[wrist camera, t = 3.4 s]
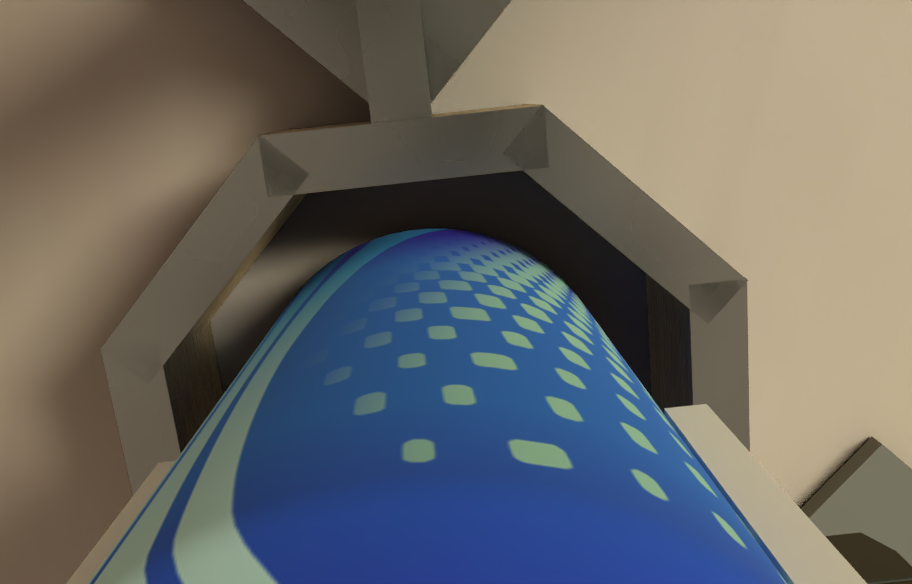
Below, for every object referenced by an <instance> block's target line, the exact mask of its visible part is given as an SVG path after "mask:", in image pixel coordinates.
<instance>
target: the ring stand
mask: <svg viewBox="0 0 912 584" xmlns="http://www.w3.org/2000/svg"><path fill="white" fill-rule="evenodd" d="M243 1H244V2H245V3H246V4H248V5H249V6H250V7H251V8H253V9H254V10H255V11H256V12H257V13H259V14H260V15H261V16H262V17H264V18H265V19H266V20H267V21H269V22H270V23H271V24H272V25H273V26H275V27H276V28H277V29H278V30H280V31H281V32H282V33H283V34H284V35H286V36H287V37H288V38H289V39H291V40H292V41H293V42H294V43H296V44H297V45H298V46H299V47H300V48H302V49H303V50H304V51H305V52H307V53H308V54H309V55H310V56H311V57H313V58H314V59H315V60H316V61H318V62H319V63H320V64H321V65H322V66H324V67H325V68H326V69H327V70H329V71H330V72H331V73H332V74H334V75H335V76H336V77H337V78H338V79H340V80H341V81H342V82H343V83H345V84H346V85H347V86H348V87H349V88H351V89H352V90H353V91H354V92H356V93H357V94H358V95H359V96H360V97H362V98H363V99H364V100H365V101H367V102H368V103H369V110H370V118H371V121H367V122H357V123H348V124H339V125H329V126H320V127H311V128H301V129H288V130H282V131H277V132H272V133H267V134H262V135H259V136H258V138H257V139H256V140H255V142H254V143H253V144H252V146H251V147H250V148H249V150H248V151H247V153H246V154H245V155H244V157H243V158H242V159H241V161H240V162H239V163H238V165H237V166H236V167H235V169H234V170H233V171H232V173H231V174H230V175H229V177H228V178H227V179H226V181H225V182H224V183H223V185H222V186H221V187H220V189H219V190H218V192H217V193H216V194H215V196H214V197H213V198H212V200H211V201H210V202H209V204H208V205H207V206H206V208H205V209H204V210H203V212H202V213H201V214H200V216H199V217H198V218H197V220H196V221H195V222H194V224H193V225H192V226H191V228H190V229H189V231H188V232H187V233H186V235H185V236H184V237H183V239H182V240H181V241H180V243H179V244H178V245H177V247H176V248H175V249H174V251H173V252H172V253H171V255H170V256H169V257H168V259H167V260H166V261H165V263H164V264H163V266H162V267H161V268H160V270H159V271H158V272H157V274H156V275H155V276H154V278H153V279H152V280H151V282H150V283H149V284H148V286H147V287H146V288H145V290H144V291H143V292H142V294H141V295H140V296H139V298H138V299H137V300H136V302H135V303H134V305H133V306H132V307H131V309H130V310H129V311H128V313H127V314H126V315H125V317H124V318H123V319H122V321H121V322H120V323H119V325H118V326H117V327H116V329H115V330H114V331H113V333H112V334H111V335H110V337H109V338H108V339H107V341H106V342H105V344H104V345H103V346H102V347H101V348H100V351H101V355H102V359H103V364H104V368H105V373H106V377H107V382H108V386H109V391H110V395H111V400H112V404H113V409H114V413H115V418H116V422H117V427H118V431H119V436H120V440H121V445H122V449H123V454H124V458H125V463H126V467H127V472H128V476H129V481H130V485H131V490H132V494H133V495H134V494H135V493H136V491H137V490H138V489H139V487H140V486H141V485H142V483H143V482H144V481H145V480H146V478H147V477H148V476H149V474H150V473H151V472H152V470H153V469H154V468H155V466H156V465H157V464H158V463H160V462H170V461H176V460H177V458H178V457H179V456H180V454H181V453H182V451H183V450H184V449H185V447H186V446H187V444H188V443H189V442H190V440H191V439H192V437H193V436H194V435H195V433H196V432H197V431H198V429H199V428H200V426H201V425H202V424H203V422H204V421H205V419H206V418H207V417H208V415H209V414H210V412H211V411H212V410H213V408H214V407H215V406H216V404H217V403H218V401H219V400H220V399H221V397H222V396H223V389H222V384H221V378H220V373H219V368H218V362H217V357H216V351H215V346H214V341H213V335H212V330H211V324H210V319H211V318H212V317H213V315H214V314H215V313H216V311H217V310H218V309H219V307H220V306H221V305H222V304H223V302H224V301H225V300H226V298H227V297H228V296H229V294H230V293H231V292H232V290H233V289H234V288H235V287H236V285H237V284H238V283H239V281H240V280H241V279H242V277H243V276H244V275H245V274H246V272H247V271H248V270H249V268H250V267H251V266H252V264H253V263H254V262H255V261H256V259H257V258H258V257H259V255H260V254H261V253H262V251H263V250H264V249H265V248H266V246H267V245H268V244H269V242H270V241H271V240H272V238H273V237H274V236H275V235H276V233H277V232H278V231H279V229H280V228H281V227H282V225H283V224H284V223H285V221H286V220H287V219H288V218H289V216H290V215H291V214H292V212H293V211H294V210H295V208H296V207H297V206H298V205H299V203H300V202H301V201H302V199H303V198H304V197H305V195H306V194H307V193H314V192H324V191H333V190H342V189H352V188H361V187H370V186H380V185H389V184H398V183H408V182H417V181H426V180H436V179H445V178H455V177H464V176H473V175H483V174H492V173H501V172H511V171H520V170H522V171H523V172H525V173H526V174H527V175H528V176H529V177H531V178H532V179H533V180H534V181H535V182H537V183H538V184H539V185H540V186H541V187H543V188H544V189H545V190H546V191H547V192H549V193H550V194H551V195H552V196H553V197H555V198H556V199H557V200H558V201H559V202H561V203H562V204H563V205H564V206H565V207H567V208H568V209H569V210H570V211H571V212H573V213H574V214H575V215H576V216H577V217H579V218H580V219H581V220H582V221H583V222H585V223H586V224H587V225H588V226H589V227H591V228H592V229H593V230H594V231H595V232H597V233H598V234H599V235H600V236H601V237H603V238H604V239H605V240H606V241H607V242H609V243H610V244H611V245H612V246H614V247H615V248H616V249H617V250H618V251H620V252H621V253H622V254H623V255H624V256H626V257H627V258H628V259H629V260H630V261H632V262H633V263H634V264H635V265H636V266H638V267H639V268H640V269H641V270H642V271H644V272H645V273H646V287H647V308H648V329H649V350H650V371H651V392H652V399H653V400H654V401H655V403H656V404H657V405H658V407H659V408H660V409H661V411H662V412H663V414H664V408H673V407H682V406H692V405H701V404H707V405H708V406H709V407H710V408H711V409H712V411H713V412H714V413H715V414H716V415H717V416H718V417H719V418H720V419H721V421H722V422H723V423H724V424H725V425H726V426H727V427H728V428H729V430H730V431H731V432H732V433H733V434H734V435H735V436H736V437H737V438H738V440H739V441H740V442H741V443H742V444H743V445H744V446H745V447H746V449H747V450H748V451H749V452H750V440H749V378H748V316H747V281H748V280H747V278H745V277H743V276H742V275H741V274H739V273H738V272H737V271H736V270H735V269H734V268H732V267H731V266H730V265H729V264H728V263H727V262H725V261H724V260H723V259H722V258H721V257H720V256H718V255H717V254H716V253H715V252H714V251H713V250H711V249H710V248H709V247H708V246H707V245H706V244H704V243H703V242H702V241H701V240H700V239H699V238H697V237H696V236H695V235H694V234H693V233H692V232H690V231H689V230H688V229H687V228H686V227H685V226H683V225H682V224H681V223H680V222H679V221H677V220H676V219H675V218H674V217H673V216H672V215H670V214H669V213H668V212H667V211H666V210H665V209H663V208H662V207H661V206H660V205H659V204H658V203H656V202H655V201H654V200H653V199H652V198H651V197H649V196H648V195H647V194H646V193H645V192H644V191H642V190H641V189H640V188H639V187H638V186H637V185H635V184H634V183H633V182H632V181H631V180H630V179H628V178H627V177H626V176H625V175H624V174H623V173H621V172H620V171H619V170H618V169H617V168H616V167H614V166H613V165H612V164H611V163H610V162H608V161H607V160H606V159H605V158H604V157H603V156H601V155H600V154H599V153H598V152H597V151H596V150H594V149H593V148H592V147H591V146H590V145H589V144H587V143H586V142H585V141H584V140H583V139H582V138H580V137H579V136H578V135H577V134H576V133H575V132H573V131H572V130H571V129H570V128H569V127H568V126H566V125H565V124H564V123H563V122H562V121H561V120H559V119H558V118H557V117H556V116H555V115H554V114H552V113H551V112H550V111H549V110H548V109H547V108H545V107H544V105H536V104H522V105H516V106H507V107H498V108H488V109H479V110H470V111H460V112H451V113H442V114H432V111H431V102H432V101H433V100H434V99H435V97H436V96H437V95H438V93H439V92H440V91H441V90H442V88H443V87H444V86H445V85H446V83H447V82H448V81H449V79H450V78H451V77H452V76H453V74H454V73H455V72H456V70H457V69H458V68H459V67H460V65H461V64H462V63H463V62H464V60H465V59H466V58H467V56H468V55H469V54H470V53H471V51H472V50H473V49H474V47H475V46H476V45H477V44H478V42H479V41H480V40H481V39H482V37H483V36H484V35H485V33H486V32H487V31H488V30H489V28H490V27H491V26H492V24H493V23H494V22H495V21H496V19H497V18H498V17H499V16H500V14H501V13H502V12H503V10H504V9H505V8H506V7H507V5H508V4H509V3H510V1H511V0H243Z"/></svg>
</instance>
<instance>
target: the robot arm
mask: <svg viewBox="0 0 912 584" xmlns="http://www.w3.org/2000/svg"><path fill="white" fill-rule="evenodd" d="M664 415H665V416H666V418H667V419H668V420H669V422H670V423H671V425H672V426H673V427H674V429H675V430H676V431H677V433H678V434H679V436H680V437H681V438H682V440H683V441H684V442H685V444H686V445H687V447H688V448H689V449H690V451H691V452H692V453H693V455H694V456H695V457H696V459H697V460H698V462H699V463H700V464H701V466H702V467H703V468H704V470H705V471H706V473H707V474H708V475H709V477H710V478H711V479H712V481H713V482H714V484H715V485H716V486H717V488H718V489H719V490H720V492H721V493H722V495H723V496H724V497H725V499H726V500H727V501H728V503H729V504H730V505H731V507H732V508H733V510H734V511H735V512H736V514H737V515H738V516H739V518H740V519H741V521H742V522H743V523H744V525H745V526H746V527H747V529H748V530H749V532H750V533H751V534H752V536H753V537H754V538H755V540H756V541H757V543H758V544H759V545H760V547H761V548H762V549H763V551H764V552H765V553H766V555H767V556H768V558H769V559H770V560H771V562H772V563H773V564H774V566H775V567H776V569H777V570H778V571H779V573H780V574H781V575H782V577H783V578H784V580H785V581H786V582H787V584H912V566H911V565H910V564H909V563H908V562H907V561H906V560H905V559H904V558H903V557H902V556H901V555H900V554H899V553H898V552H897V551H895V550H893V549H891V548H889V547H887V546H886V545H884V544H882V543H880V542H878V541H876V540H874V539H872V538H871V537H869V536H867V535H865V534H863V533H861V532H859V533H850V534H840V535H831V536H824V535H823V533H822V532H821V531H820V530H819V529H818V528H817V527H816V526H815V525H814V523H813V522H812V521H811V520H810V519H809V518H808V517H807V516H806V514H805V513H804V512H803V511H802V510H801V509H800V508H799V507H798V506H797V504H796V503H795V502H794V501H793V500H792V499H791V498H790V497H789V495H788V494H787V493H786V492H785V491H784V490H783V489H782V488H781V487H780V485H779V484H778V483H777V482H776V481H775V480H774V479H773V478H772V476H771V475H770V474H769V473H768V472H767V471H766V470H765V469H764V468H763V466H762V465H761V464H760V463H759V462H758V461H757V460H756V459H755V457H754V456H753V455H752V454H751V453H750V452H749V451H748V450H747V449H746V447H745V446H744V445H743V444H742V443H741V442H740V441H739V440H738V438H737V437H736V436H735V435H734V434H733V433H732V432H731V431H730V430H729V428H728V427H727V426H726V425H725V424H724V423H723V422H722V421H721V419H720V418H719V417H718V416H717V415H716V414H715V413H714V412H713V411H712V409H711V408H710V407H709V406H708V405H707V404H701V405H692V406H682V407H673V408H664ZM174 462H175V461H170V462H160V463H158V464H157V465H156V466H155V468H154V469H153V470H152V472H151V473H150V474H149V476H148V477H147V478H146V480H145V481H144V482H143V483H142V485H141V486H140V487H139V489H138V490H137V491H136V493H135V494H134V495H133V497H132V498H131V499H130V500H129V502H128V503H127V504H126V506H125V507H124V508H123V510H122V511H121V512H120V514H119V515H118V516H117V517H116V519H115V520H114V521H113V523H112V524H111V525H110V527H109V528H108V529H107V531H106V532H105V533H104V534H103V536H102V537H101V538H100V540H99V541H98V542H97V544H96V545H95V546H94V548H93V549H92V550H91V551H90V553H89V554H88V555H87V557H86V558H85V559H84V561H83V562H82V563H81V565H80V566H79V567H78V568H77V570H76V571H75V572H74V574H73V575H72V576H71V578H70V579H69V580H68V582H67V583H66V584H87V583H88V582H89V581H90V579H91V578H92V576H93V575H94V574H95V572H96V571H97V569H98V568H99V567H100V565H101V564H102V562H103V561H104V560H105V558H106V557H107V556H108V554H109V553H110V551H111V550H112V549H113V547H114V546H115V544H116V543H117V542H118V540H119V539H120V537H121V536H122V535H123V533H124V532H125V531H126V529H127V528H128V526H129V525H130V524H131V522H132V521H133V519H134V518H135V517H136V515H137V514H138V512H139V511H140V510H141V508H142V507H143V506H144V504H145V503H146V501H147V500H148V499H149V497H150V496H151V494H152V493H153V492H154V490H155V489H156V487H157V486H158V485H159V483H160V482H161V481H162V479H163V478H164V476H165V475H166V474H167V472H168V471H169V469H170V468H171V467H172V465H173V464H174Z"/></svg>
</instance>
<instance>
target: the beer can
mask: <svg viewBox="0 0 912 584" xmlns="http://www.w3.org/2000/svg"><path fill="white" fill-rule="evenodd" d="M87 584H787V582H786V581H785V580H784V578H783V577H782V575H781V574H780V573H779V571H778V570H777V569H776V567H775V566H774V564H773V563H772V562H771V560H770V559H769V558H768V556H767V555H766V553H765V552H764V551H763V549H762V548H761V547H760V545H759V544H758V543H757V541H756V540H755V538H754V537H753V536H752V534H751V533H750V532H749V530H748V529H747V527H746V526H745V525H744V523H743V522H742V521H741V519H740V518H739V516H738V515H737V514H736V512H735V511H734V510H733V508H732V507H731V505H730V504H729V503H728V501H727V500H726V499H725V497H724V496H723V495H722V493H721V492H720V490H719V489H718V488H717V486H716V485H715V484H714V482H713V481H712V479H711V478H710V477H709V475H708V474H707V473H706V471H705V470H704V468H703V467H702V466H701V464H700V463H699V462H698V460H697V459H696V457H695V456H694V455H693V453H692V452H691V451H690V449H689V448H688V447H687V445H686V444H685V442H684V441H683V440H682V438H681V437H680V436H679V434H678V433H677V431H676V430H675V429H674V427H673V426H672V425H671V423H670V422H669V420H668V419H667V418H666V416H665V415H664V414H663V412H662V411H661V409H660V408H659V407H658V405H657V404H656V403H655V401H654V400H653V399H652V397H651V396H650V394H649V393H648V392H647V390H646V389H645V388H644V386H643V385H642V383H641V382H640V381H639V379H638V378H637V377H636V375H635V374H634V372H633V371H632V370H631V368H630V367H629V366H628V364H627V363H626V361H625V360H624V359H623V357H622V356H621V355H620V353H619V352H618V351H617V349H616V348H615V346H614V345H613V344H612V342H611V341H610V340H609V338H608V337H607V335H606V334H605V333H604V331H603V330H602V329H601V327H600V326H599V324H598V323H597V322H596V320H595V319H594V318H593V316H592V315H591V313H590V312H589V311H588V309H587V308H586V307H585V305H584V304H583V303H582V301H581V300H580V299H579V297H578V296H577V295H576V294H575V292H574V291H573V290H572V289H571V287H570V286H569V285H568V284H567V283H566V282H565V281H564V280H563V279H562V278H561V277H560V276H559V275H558V274H557V273H555V272H554V271H553V270H552V269H551V268H549V267H548V266H547V265H546V264H544V263H543V262H541V261H540V260H538V259H537V258H535V257H534V256H532V255H531V254H529V253H527V252H526V251H524V250H522V249H520V248H518V247H516V246H514V245H512V244H509V243H507V242H504V241H502V240H500V239H497V238H493V237H490V236H487V235H483V234H480V233H475V232H470V231H464V230H455V229H417V230H408V231H403V232H398V233H393V234H389V235H386V236H383V237H379V238H376V239H373V240H371V241H368V242H366V243H363V244H361V245H359V246H356V247H355V248H353V249H351V250H349V251H347V252H345V253H343V254H342V255H340V256H339V257H337V258H336V259H334V260H333V261H331V262H330V263H328V264H327V265H326V266H324V267H323V268H322V269H321V270H319V271H318V272H317V273H316V274H315V275H313V276H312V277H311V278H310V280H309V281H308V282H307V283H306V284H305V285H304V286H303V287H302V288H301V289H300V290H299V291H298V293H297V294H296V295H295V296H294V298H293V299H292V300H291V301H290V303H289V304H288V306H287V307H286V308H285V310H284V311H283V312H282V314H281V315H280V317H279V318H278V319H277V321H276V322H275V324H274V325H273V326H272V328H271V329H270V331H269V332H268V333H267V335H266V336H265V337H264V339H263V340H262V342H261V343H260V344H259V346H258V347H257V349H256V350H255V351H254V353H253V354H252V356H251V357H250V358H249V360H248V361H247V362H246V364H245V365H244V367H243V368H242V369H241V371H240V372H239V374H238V375H237V376H236V378H235V379H234V381H233V382H232V383H231V385H230V386H229V387H228V389H227V390H226V392H225V393H224V394H223V396H222V397H221V399H220V400H219V401H218V403H217V404H216V406H215V407H214V408H213V410H212V411H211V412H210V414H209V415H208V417H207V418H206V419H205V421H204V422H203V424H202V425H201V426H200V428H199V429H198V431H197V432H196V433H195V435H194V436H193V437H192V439H191V440H190V442H189V443H188V444H187V446H186V447H185V449H184V450H183V451H182V453H181V454H180V456H179V457H178V458H177V460H176V461H175V462H174V464H173V465H172V467H171V468H170V469H169V471H168V472H167V474H166V475H165V476H164V478H163V479H162V481H161V482H160V483H159V485H158V486H157V487H156V489H155V490H154V492H153V493H152V494H151V496H150V497H149V499H148V500H147V501H146V503H145V504H144V506H143V507H142V508H141V510H140V511H139V512H138V514H137V515H136V517H135V518H134V519H133V521H132V522H131V524H130V525H129V526H128V528H127V529H126V531H125V532H124V533H123V535H122V536H121V537H120V539H119V540H118V542H117V543H116V544H115V546H114V547H113V549H112V550H111V551H110V553H109V554H108V556H107V557H106V558H105V560H104V561H103V562H102V564H101V565H100V567H99V568H98V569H97V571H96V572H95V574H94V575H93V576H92V578H91V579H90V581H89V582H88V583H87Z"/></svg>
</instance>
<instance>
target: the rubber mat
mask: <svg viewBox="0 0 912 584" xmlns="http://www.w3.org/2000/svg"><path fill="white" fill-rule="evenodd" d="M801 510H802V511H803V512H804V513H805V514H806V516H807V517H808V518H809V519H810V520H811V521H812V522H813V523H814V525H815V526H816V527H817V528H818V529H819V530H820V531H821V532H822V533H823V535H824V536H831V535H840V534H850V533H859V532H861V533H863V534H865V535H867V536H869V537H871V538H872V539H874V540H876V541H878V542H880V543H882V544H884V545H886V546H887V547H889V548H891V549H893V550H895V551H897V552H898V553H899V554H900V555H901V556H902V557H903V558H904V559H905V560H906V561H907V562H908V563H909V564H910V565H911V566H912V469H911V468H910V467H908V466H907V465H906V464H905V463H904V462H902V461H901V460H900V459H899V458H898V457H896V456H895V455H894V454H893V453H892V452H890V451H889V450H888V449H887V448H886V447H885V446H883V445H882V444H881V443H880V442H878V441H877V440H876V439H874V438H873V437H871V438H870V439H869V440H868V441H867V442H866V443H865V444H864V445H863V446H862V447H861V448H860V449H859V450H858V451H857V452H856V453H855V454H854V455H853V456H852V457H851V458H850V459H849V460H848V461H847V462H846V463H845V464H844V465H843V466H842V467H841V468H840V469H839V470H838V471H837V472H836V473H835V474H834V475H833V476H832V477H831V478H830V479H829V480H828V481H827V482H826V483H825V484H824V485H823V486H822V487H821V488H820V489H819V490H818V491H817V492H816V493H815V494H814V495H813V496H812V498H811V499H810V500H809V501H808V502H807V503H806V504H805V505H804V506H803V507H802V508H801Z"/></svg>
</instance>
